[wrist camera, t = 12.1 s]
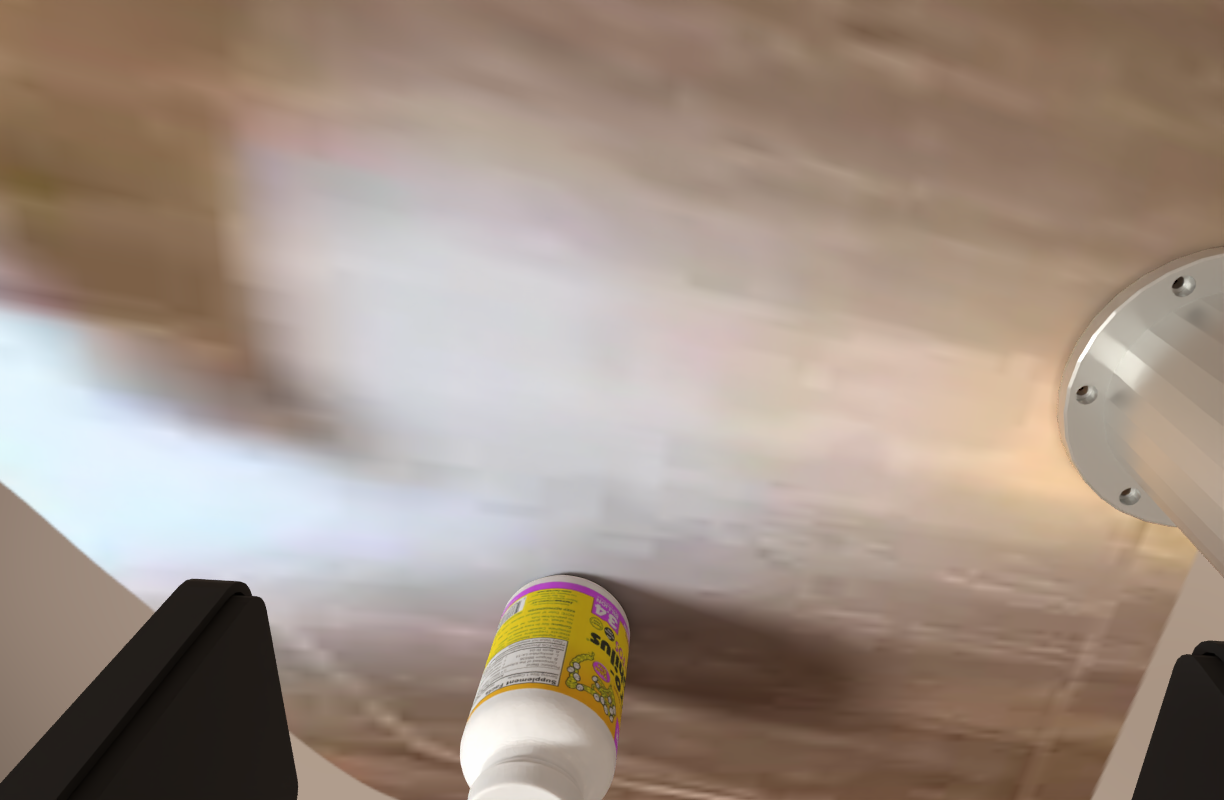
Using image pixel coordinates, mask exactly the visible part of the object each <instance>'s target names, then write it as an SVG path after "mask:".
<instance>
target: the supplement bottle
mask: <svg viewBox="0 0 1224 800" xmlns="http://www.w3.org/2000/svg"><path fill="white" fill-rule="evenodd" d="M629 643H630V629H629V623H628V620H627V617H626V614H625V612H624V610H623V608H622V607H621V605H620V604H619V602H618V601H617V600H616V599H615V598H614V596H612V595H611V594H610V593H609V592H608V591H607V590H605V589H604V588H603V587H601V586H599V585H598V584H596V583H594V582H592V581H589V580H587V579H584V578H580V577H576V576H569V575H554V576H548V577H544V578H540V579H537V580H534V581H532V582H530V583H528V584H527V585H525V586H523V587H522V588H521V589H519V590H518V591H517V592H516V593H515V594H514V595H513V596H512V598H511V599H510V600H509V602H508V604H507V605H506V607H505V610H504V612H503V615H502V617H501V620H500V623H499V626H498V629H497V632H496V635H495V638H494V641H493V644H492V647H491V651H490V654H489V657H488V660H487V663H486V666H485V669H484V672H483V676H482V679H481V682H480V685H479V688H478V691H477V694H476V697H475V700H474V703H473V706H472V709H471V712H470V715H469V718H468V720H467V724H466V727H465V730H464V733H463V736H462V740H461V748H460V760H461V766H462V770H463V774H464V777H465V779H466V781H467V783H468V785H469V787H470V791H469V795H468V800H602V798H603V797H604V796H605V794H606V793H607V791H608V789H609V787H610V785H611V782H612V780H613V776H614V772H615V766H616V757H617V747H618V738H619V730H620V722H621V714H622V706H623V697H624V689H625V680H626V671H627V663H628V654H629Z"/></svg>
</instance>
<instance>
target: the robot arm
mask: <svg viewBox="0 0 1224 800" xmlns="http://www.w3.org/2000/svg"><path fill="white" fill-rule="evenodd" d="M1178 278H1179V280H1178V282H1177V283H1176V284H1175V285H1173V283H1174V281H1175V280H1176V279H1178ZM1083 386H1084V388H1083V389H1082V390H1081V391H1078V390H1079V389H1080V388H1081V387H1083ZM1057 421H1058V426H1059V432H1060V437H1061V442H1062V444H1063V446H1064V449H1065V451H1066V453H1067V455H1068V458H1069V460H1070V462H1071V464H1072V465H1073V466H1074V468H1075V469H1076V470H1077V472H1078V473H1079V474H1080V476H1081V477H1082V479H1083V480H1084V481H1085V482H1086V483H1087V484H1088V485H1089V486H1090V487H1091V489H1092V490H1093V491H1094V492H1095V493H1096V494H1097V495H1098V496H1099V497H1100V498H1101V499H1103V500H1104V501H1106V502H1107V503H1108V504H1110V505H1111V506H1113V507H1114V508H1116V509H1117V510H1119V511H1121V512H1123V513H1126V514H1128V515H1131V516H1133V517H1135V518H1138V519H1140V520H1143V521H1145V522H1150V523H1155V524H1160V525H1165V526H1169V527H1178V528H1179V529H1180V530H1181V531H1182V533H1183V534H1184V535H1185V536H1186V537H1187V538H1188V539H1189V540H1190V541H1191V542H1192V544H1193V545H1194V546H1195V547H1196V548H1197V549H1198V550H1199V551H1200V552H1201V553H1202V554H1203V555H1204V557H1205V558H1206V559H1207V560H1208V561H1209V562H1210V563H1211V564H1212V565H1213V566H1214V568H1215V569H1216V570H1217V571H1218V572H1219V573H1220V574H1221V575H1222V576H1223V577H1224V246H1223V247H1217V248H1210V249H1205V250H1202V251H1199V252H1196V253H1193V254H1190V255H1187V256H1184V257H1181V258H1178V259H1175V260H1173V261H1171V262H1169V263H1167V264H1165V265H1163V266H1161V267H1159V268H1157V269H1155V270H1153V271H1151V272H1149V273H1147V274H1145V275H1144V276H1142V277H1141V278H1139V279H1138V280H1137V281H1135V282H1134V283H1132V284H1131V285H1130V286H1128V287H1127V288H1125V289H1124V290H1123V291H1121V292H1120V293H1119V294H1117V295H1116V296H1115V297H1114V298H1113V299H1112V300H1111V301H1110V302H1109V303H1108V304H1107V305H1106V306H1105V307H1104V308H1103V309H1102V310H1101V311H1100V312H1099V313H1098V314H1097V315H1096V316H1095V317H1094V319H1093V320H1092V321H1091V323H1090V324H1089V325H1088V327H1087V328H1086V330H1085V331H1084V332H1083V334H1082V335H1081V337H1080V338H1079V339H1078V341H1077V343H1076V345H1075V347H1074V349H1073V351H1072V353H1071V355H1070V357H1069V359H1068V361H1067V363H1066V365H1065V368H1064V372H1063V376H1062V379H1061V383H1060V387H1059V391H1058V405H1057ZM297 795H298V781H297V775H296V769H295V764H294V758H293V752H292V747H291V742H290V736H289V730H288V725H287V720H286V714H285V709H284V703H283V698H282V692H281V687H280V681H279V676H278V670H277V665H276V659H275V654H274V648H273V643H272V637H271V632H270V626H269V621H268V615H267V610H266V606H265V603H264V601H263V600H262V598H260V597H257V596H252V594H251V591H250V589H249V587H248V586H247V585H246V584H245V583H243V582H239V581H222V580H206V579H190V580H186V581H185V582H184V583H182V584H181V585H180V586H179V587H178V588H177V589H176V590H175V591H174V592H173V593H172V595H171V596H170V597H169V598H168V599H167V600H166V601H165V602H164V603H163V604H162V606H161V607H160V608H159V609H158V610H157V611H156V612H155V613H154V614H153V616H152V617H151V618H150V619H149V620H148V621H147V622H146V623H145V624H144V626H143V627H142V628H141V629H140V630H139V631H138V632H137V633H136V635H134V637H133V638H132V639H131V640H130V641H129V642H128V643H127V644H126V645H125V646H124V648H123V649H122V650H121V651H120V652H119V653H118V654H117V655H116V656H115V658H114V659H113V660H112V661H111V662H110V663H109V664H108V665H107V666H106V667H105V669H104V670H103V671H102V672H101V673H100V674H99V675H98V676H97V677H96V678H95V680H94V681H93V682H92V683H91V684H90V685H89V686H88V687H87V688H86V689H85V691H84V692H83V693H82V694H81V695H80V696H79V697H78V698H77V699H76V701H75V702H74V703H73V704H72V705H71V706H70V707H69V708H68V709H67V710H66V711H65V713H64V714H63V715H62V716H61V717H60V718H59V719H58V720H57V722H56V723H55V724H54V725H53V726H52V727H51V728H50V729H49V730H48V731H47V732H46V734H45V735H44V736H43V737H42V738H41V739H40V740H39V741H38V742H37V744H36V745H35V746H34V747H33V748H32V749H31V750H30V751H29V752H28V753H27V755H26V756H25V757H24V758H23V759H22V760H21V761H20V762H19V763H18V764H17V766H16V767H15V768H14V769H13V770H12V771H11V772H10V773H9V774H8V776H7V777H6V778H5V779H4V780H3V781H2V782H1V783H0V800H297ZM1132 800H1224V641H1204V642H1201V643H1200V644H1199V645H1198V646H1196V647H1195V649H1194V651H1193V653H1192V655H1190V654H1186V655H1182V656H1181V657H1180V658H1178V659H1177V662H1176V664H1175V666H1174V668H1173V671H1172V675H1171V678H1170V681H1169V684H1168V687H1167V690H1166V693H1165V697H1164V700H1163V703H1162V706H1161V709H1160V713H1159V715H1158V719H1157V722H1156V725H1155V728H1154V731H1153V734H1152V738H1151V741H1150V744H1149V747H1148V750H1147V753H1146V756H1145V759H1144V763H1143V766H1142V769H1141V772H1140V775H1139V778H1138V782H1137V785H1136V788H1135V791H1134V794H1133V797H1132Z"/></svg>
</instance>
